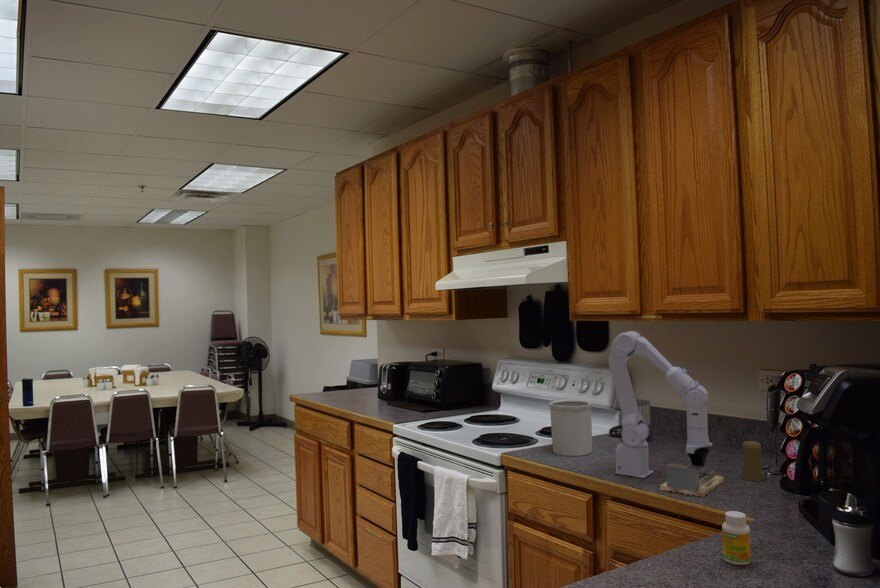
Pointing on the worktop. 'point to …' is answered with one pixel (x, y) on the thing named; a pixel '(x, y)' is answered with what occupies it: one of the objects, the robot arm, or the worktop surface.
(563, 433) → the utensil holder
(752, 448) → the cork
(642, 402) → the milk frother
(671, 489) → the gauge board
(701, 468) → the gauge carriage
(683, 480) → the grey box
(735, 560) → the supplement bottle
